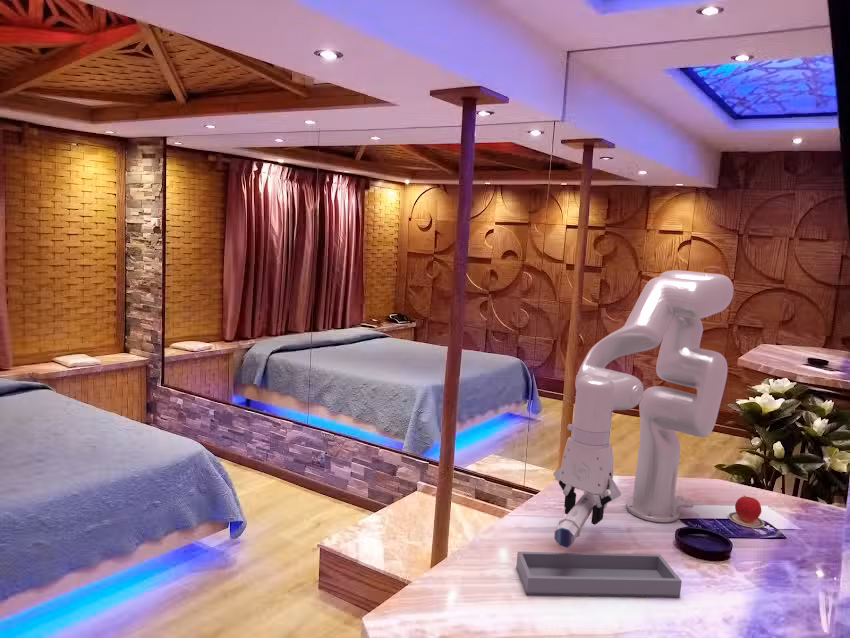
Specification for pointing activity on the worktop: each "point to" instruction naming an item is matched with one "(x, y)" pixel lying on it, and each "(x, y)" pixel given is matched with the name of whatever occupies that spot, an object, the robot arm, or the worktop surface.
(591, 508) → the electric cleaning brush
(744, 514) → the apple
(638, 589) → the tray
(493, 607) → the worktop surface
